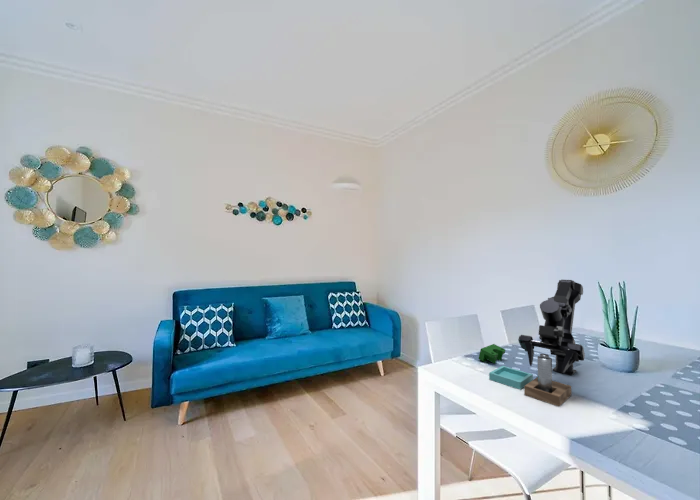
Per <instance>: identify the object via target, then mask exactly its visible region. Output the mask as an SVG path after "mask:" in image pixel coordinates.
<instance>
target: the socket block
mask: <svg viewBox="0 0 700 500" xmlns="http://www.w3.org/2000/svg"><path fill="white" fill-rule="evenodd" d="M523 389H524V392H523V393H524V396H527V397H530V398H533V399H535V400H539V401H542V402H544V403H548V404H550V405H552V406H553V405H554V406H556V407H560V406H562V404H564V403H565V402H566V401H567V400H568V399H569V398H571V396H572V385H569V384H566V383H563V382H559V381H555V380H552V393H549V392H545V391H542V390H539V389H538V376H536V378H533V380H532V381H531V382H529V383H528V384H526V385H525V386H524V387H523Z"/></svg>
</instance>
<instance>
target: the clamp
mask: <svg viewBox="0 0 700 500" xmlns="http://www.w3.org/2000/svg"><path fill="white" fill-rule="evenodd" d="M479 351H480V352H479V353H478V354H479V355H478V360H480V361H481V362H483V363H484V362H487V361H488V362H491V363H493V364H496V363H497V360H498V361H500V362H501V361H502V358H503V355H505V353H506V349H505V348H503V347H501V346H499V345H497V344H495V343H493V344H490V345H487V346H485V347H481V348H480V350H479Z"/></svg>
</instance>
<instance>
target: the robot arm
mask: <svg viewBox="0 0 700 500" xmlns="http://www.w3.org/2000/svg"><path fill="white" fill-rule="evenodd" d="M556 287H557V288H556V291H555V293H554V296H552V297H548V298H547V299H545V300H543V301H542V302H541V303H540V304H539V309H540V312H541V316H542V318H543V319H544V320H545V321H544V325H539V327H538V335H539V336H538V338H539V340H541V341H539V340H534V339H533V336H532V335H525V334H520V335H519V336H518V343H519V346H520V348H521V349H523V350H524V351H525V352H527V358H528V362H529V366H530V367H531V366H532V365H533V361H534V355H535V351H534V349H535V348H541V349H546V350H549V351H550V355H551V356H555V367H554V368H552V372H553V371H554V372H557V373H560V374H565V375H567V376H568V375H569V376H573V375H574V374H575V373H577V369H574V363H576V362H577V363H579V362H580V361H581V362H582V361H585V356H586V353H585V348H584V346H583V345H582V344H578V343H576V341H575V338H574V336H573V335H572V334H573V332H572V331H573V326H574V325H573V324H574V316H575V310H576V309H575V307H576V304H577V303H579V301H581V299H582V298H581V297H582V296H583V294H584V286H583V285H582V284H581V283H579V282H576V281H574V280H572V279H559V280H558V282H557V286H556Z"/></svg>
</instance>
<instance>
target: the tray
mask: <svg viewBox="0 0 700 500" xmlns="http://www.w3.org/2000/svg"><path fill="white" fill-rule="evenodd" d="M488 376H489V377H488V379H489V380H490V381H493V382H497V383H499V384H502V385H504V386H505V385H506V386H508V387H511V388H514V389H518V390H520V391H521V390H522V389H524V386H525V385H526V384H528V383H529V382H531V381H532V380H534V375H533V374H532V373H530V372H525V371H523V370H519V369H515V368H512V367H508V366H505V365H501V366H499V367H497V368H495V369H493V370H491V371H490V372H489V373H488Z"/></svg>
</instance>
